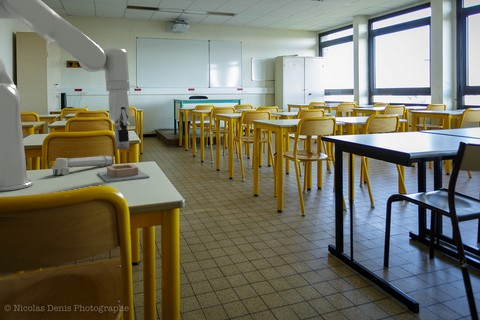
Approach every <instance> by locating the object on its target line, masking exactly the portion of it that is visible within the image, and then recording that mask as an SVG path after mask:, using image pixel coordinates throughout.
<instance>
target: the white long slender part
mask: <svg viewBox="0 0 480 320" xmlns="http://www.w3.org/2000/svg"><path fill="white" fill-rule="evenodd" d="M113 164H114V158H113V156H110V155H99V156H87V157H75V158H67V157H66V158H64V157H57V158H55V161H54V166H51V170H52V175H54V176H59V175H62V176H67V175H69V174H70V170H71V167H72V168H74V167H79V168H81V167H101V166H100V165H103V166H102V167H108V165H109V166H113Z"/></svg>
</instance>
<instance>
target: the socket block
mask: <svg viewBox="0 0 480 320" xmlns="http://www.w3.org/2000/svg"><path fill="white" fill-rule="evenodd" d="M96 172H97V171H96ZM97 175H98V176H100V178H101V179H102V180H103V181H105V183H114V182H122V181H123V182H124V181H131V180H141V179H149V178H150V175H148V174H147V173H145V172H143V171H142V170H141V169H139V166H136V165H135V164H132V163H130V164H126V163H125V164H117V165H116V164H115V165H109V166H106V171H98V172H97Z"/></svg>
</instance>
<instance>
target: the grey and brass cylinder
mask: <svg viewBox="0 0 480 320" xmlns="http://www.w3.org/2000/svg"><path fill="white" fill-rule="evenodd" d="M127 125H129V123H128V121H127ZM113 126H114V137H115V138H114V139H115V149H116V150H128V149H130V140H129V141H127V142H119V135H118V130H119V125H118V122H114V121H113Z"/></svg>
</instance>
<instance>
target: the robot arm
mask: <svg viewBox="0 0 480 320" xmlns="http://www.w3.org/2000/svg"><path fill="white" fill-rule="evenodd" d="M0 19H5V20H6V19H9V20H10V19H11V20H12V19H13V20H15V19H18V20H19V21H21V22H22V23H23V24H25V25H26V26H27V27H29V28H30V29H31V30H32V31H34V32H35V34H37V35H38V36H39V37H41V38H42V39H44V40H46V41H47V42H49V43H52V44H53V45H56V46H58V47H59V48H61V49H62V50H64V51H65V52H67V53H68V54H69V55H70V56H72V57H74V58H75V59H76V60H77V61H78V64H79V65H80V67H81V68H82V70H84V71H85V72H90V73H95V72H100V71H101V72H103V71H104V75H105V89H106V92H108V113H109V114H108V115H109V120H110V121H113V123H114V122H118V125H119V130H118V135H119V142H127V141H129V142H130V139H129V136H130V135H129V126H128V125H129V124H128V125H127V122H128V121H129V120H130V117H131V116H130V114H131V113H130V105H129V95H128V92H130V91H131V87H130V76H129V62H128V61H129V60H128V51H126V50H125V49H124V48H117V47H116V48H115V47H113V48H106V49H105V50H104V49H102V48H101V47H100V46H99V45H98V44H96V42H94V40H92V39H91V38H89V37H88V36H87V35H86V34H85V33H83V32H82V31H81V30H79V29H78V28H77V27H76V26H74V25H72V24H71V23H70V22H69V21H68V20H66V19H64V18H63V17H62V16H60V15H59V14H58V13H57V12H55V10H54V9H52V8H50V7H49V5H47V4H46V3H45V2H43V1H42V0H0ZM20 104H21V95H20V93H19V91H18V88H17V86H16V85H15V83H14V81H13V79H12V77H11V75H10V73H9V71H8V68H7V67H6V64H5V63H4V62H3V60H2V58H1V57H0V191H1V192H3V191H5V192H6V191H13V190H20V189H25V188H29V187H31V186H33V184H34V181H33V180H32V179H30V178H28V175H27V174H28V173H27V165H26V164H27V163H26V154H25V144H24V135H23V127H22V117H21V108H20V107H21V106H20Z"/></svg>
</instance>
